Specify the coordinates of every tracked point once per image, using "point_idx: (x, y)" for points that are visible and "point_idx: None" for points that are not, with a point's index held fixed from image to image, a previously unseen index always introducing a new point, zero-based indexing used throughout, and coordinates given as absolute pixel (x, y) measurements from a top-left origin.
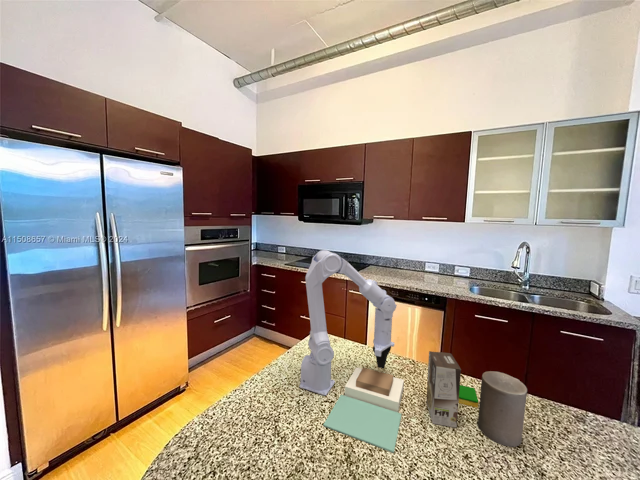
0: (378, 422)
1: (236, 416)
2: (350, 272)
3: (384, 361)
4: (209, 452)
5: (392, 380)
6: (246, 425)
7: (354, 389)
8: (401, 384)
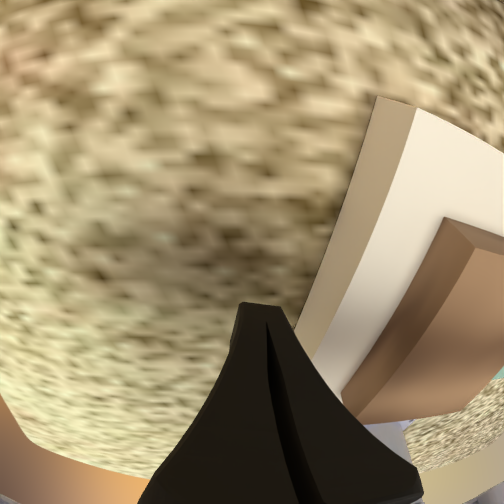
0: None
1: (438, 457)
2: None
3: (314, 375)
4: (487, 437)
5: (496, 246)
6: (460, 443)
7: None
8: (479, 151)
